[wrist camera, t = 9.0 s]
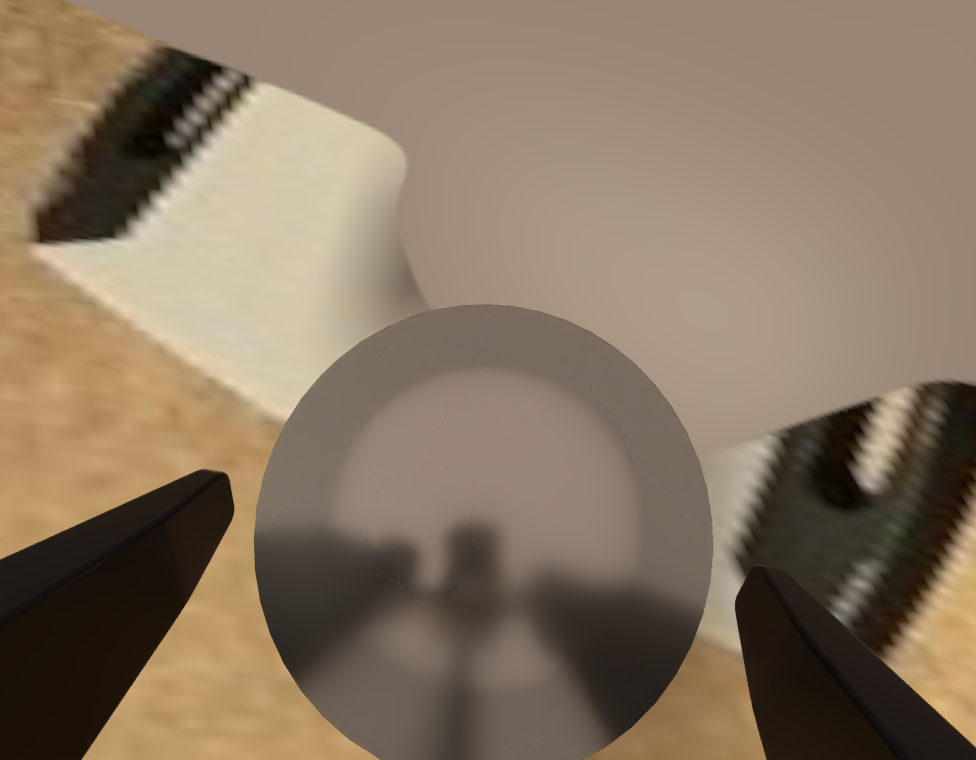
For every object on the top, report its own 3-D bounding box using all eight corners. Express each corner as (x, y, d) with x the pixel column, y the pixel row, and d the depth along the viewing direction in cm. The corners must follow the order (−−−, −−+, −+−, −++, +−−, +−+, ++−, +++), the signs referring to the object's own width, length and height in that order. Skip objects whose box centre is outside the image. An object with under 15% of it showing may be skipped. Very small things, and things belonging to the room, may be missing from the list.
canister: (588, 629, 15) (758, 814, 6) (381, 623, 15) (195, 795, 6) (582, 425, 17) (703, 296, 7) (397, 420, 17) (277, 287, 7)
